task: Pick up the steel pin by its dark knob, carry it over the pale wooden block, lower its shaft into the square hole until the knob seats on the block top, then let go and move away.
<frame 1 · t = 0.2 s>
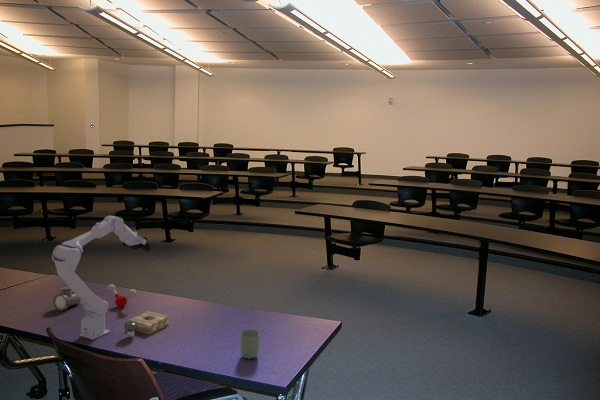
hand: (142, 249, 246), 31 cm above the table, fingers open, 7 cm apart
cup: (249, 357, 211), on the table
pipe fitting: (68, 307, 257), on the table
steel pin: (131, 336, 226), on the table
molecular model: (121, 307, 259), on the table
wooden block: (149, 326, 237), on the table
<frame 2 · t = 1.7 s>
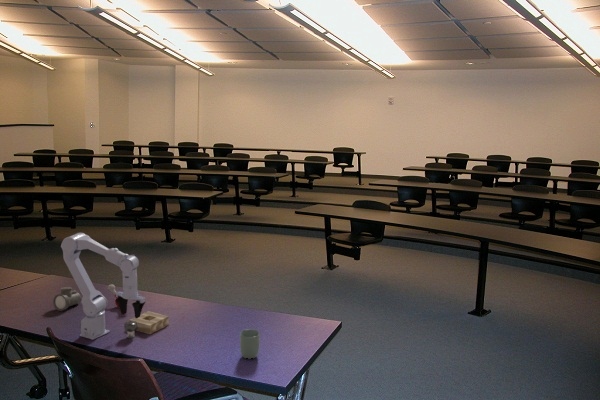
hand: (130, 315, 224), 9 cm above the table, fingers open, 7 cm apart
nothing on the table moved.
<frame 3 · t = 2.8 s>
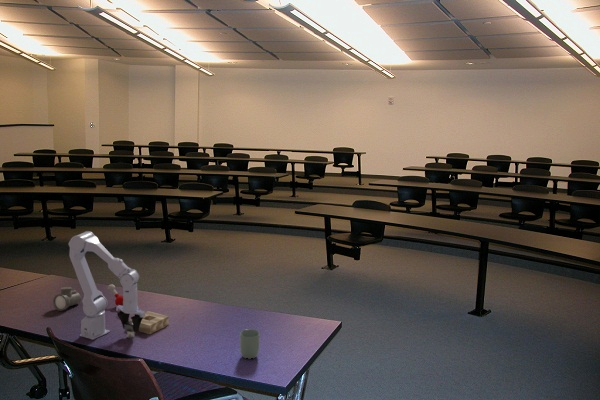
hand: (131, 329, 225), 3 cm above the table, fingers closed on steel pin, 5 cm apart
steel pin: (131, 336, 226), on the table, touching gripper
everything else where it was.
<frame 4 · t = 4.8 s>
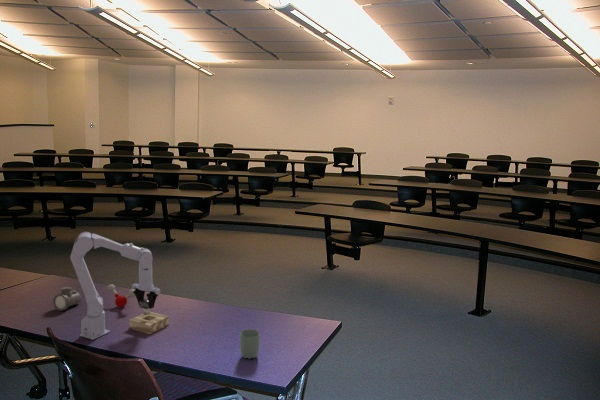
hand: (146, 306, 233), 10 cm above the table, fingers closed on steel pin, 5 cm apart
steel pin: (146, 313, 234), point 7 cm above the table, touching gripper
everything else where it was.
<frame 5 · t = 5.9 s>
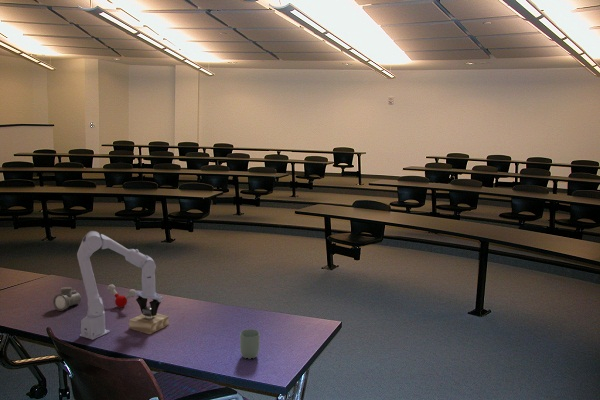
hand: (149, 314, 236), 6 cm above the table, fingers closed on steel pin, 5 cm apart
steel pin: (149, 321, 236), point 3 cm above the table, touching gripper
everything else where it was.
when the fingers open (5 cm above the table, at t = 6.8 s): steel pin stays where it is, resting on wooden block.
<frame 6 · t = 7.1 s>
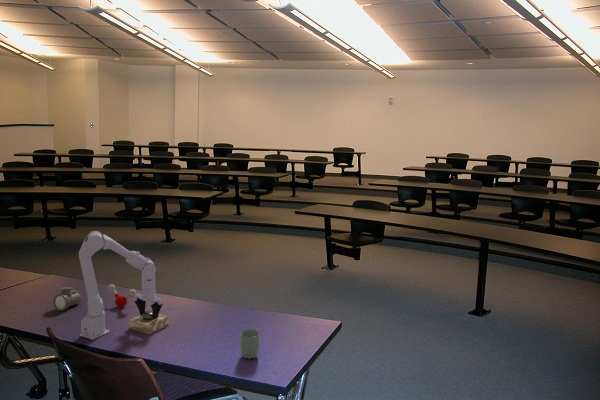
hand: (149, 316, 236), 5 cm above the table, fingers open, 7 cm apart
steel pin: (149, 325, 236), resting on wooden block
everything else where it was.
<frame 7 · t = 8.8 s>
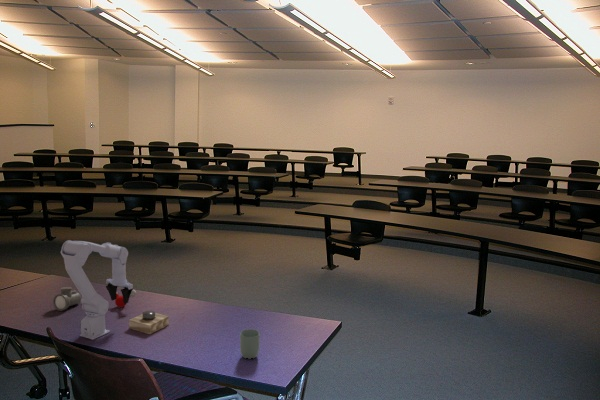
hand: (119, 301, 240), 10 cm above the table, fingers open, 7 cm apart
nothing on the table moved.
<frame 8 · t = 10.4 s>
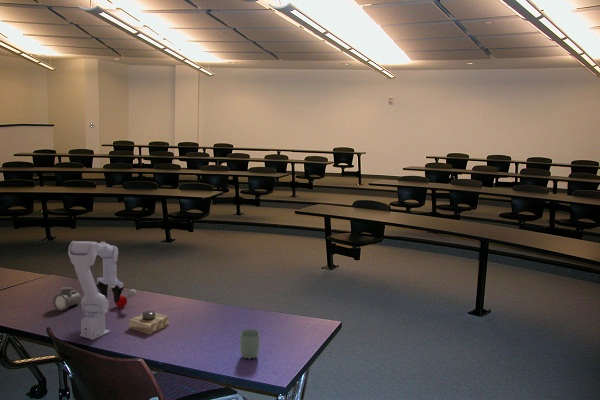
hand: (110, 300, 241), 9 cm above the table, fingers open, 7 cm apart
nothing on the table moved.
at the end: steel pin 0.1 cm off-centre on the wooden block, point 0.4 cm above the wooden block's base; steel pin tilted 0°; the gripper is holding nothing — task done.
